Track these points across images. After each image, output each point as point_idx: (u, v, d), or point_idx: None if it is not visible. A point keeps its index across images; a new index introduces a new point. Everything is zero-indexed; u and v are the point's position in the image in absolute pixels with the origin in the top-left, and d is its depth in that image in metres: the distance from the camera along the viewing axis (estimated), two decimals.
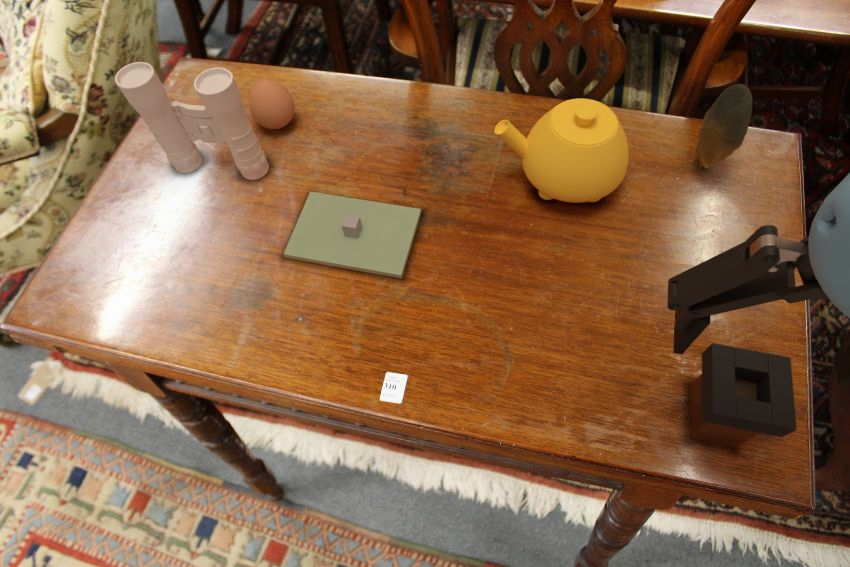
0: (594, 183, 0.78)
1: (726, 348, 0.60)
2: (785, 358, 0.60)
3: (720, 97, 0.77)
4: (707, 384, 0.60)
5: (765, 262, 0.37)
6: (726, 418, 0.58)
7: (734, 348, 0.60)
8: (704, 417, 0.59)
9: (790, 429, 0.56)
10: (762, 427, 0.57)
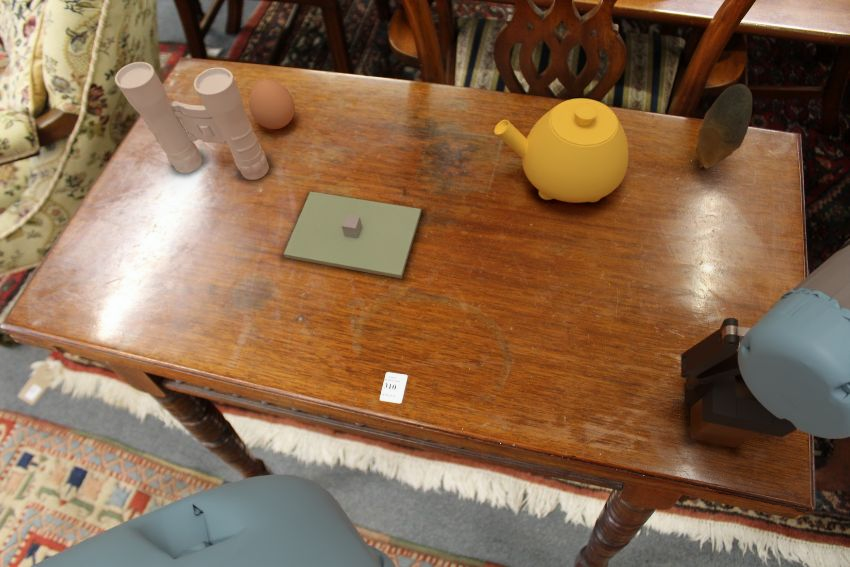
0: (594, 183, 0.78)
1: None
2: None
3: (720, 97, 0.77)
4: None
5: (729, 346, 0.50)
6: (726, 418, 0.58)
7: None
8: (704, 417, 0.59)
9: (790, 429, 0.56)
10: (762, 427, 0.57)
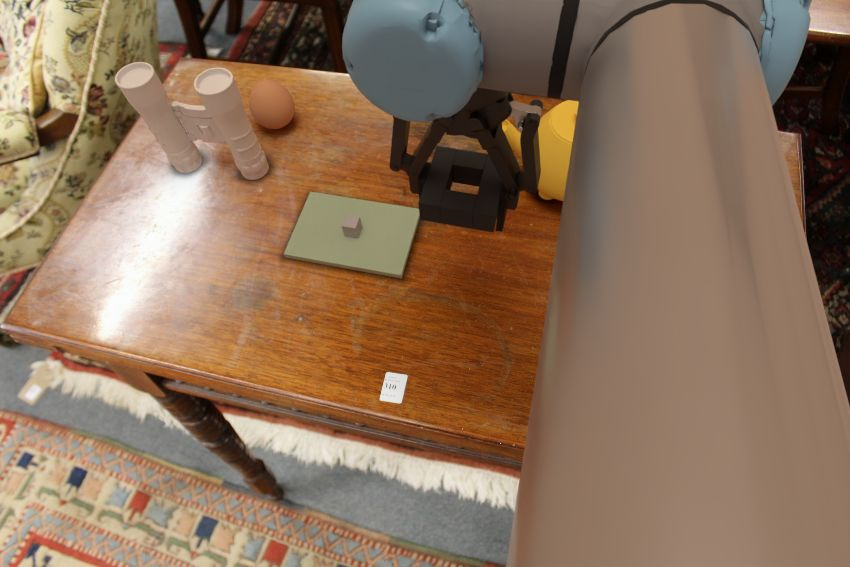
0: None
1: (449, 150, 0.61)
2: None
3: None
4: None
5: None
6: (433, 209, 0.58)
7: (456, 150, 0.60)
8: None
9: (490, 216, 0.56)
10: (467, 217, 0.57)
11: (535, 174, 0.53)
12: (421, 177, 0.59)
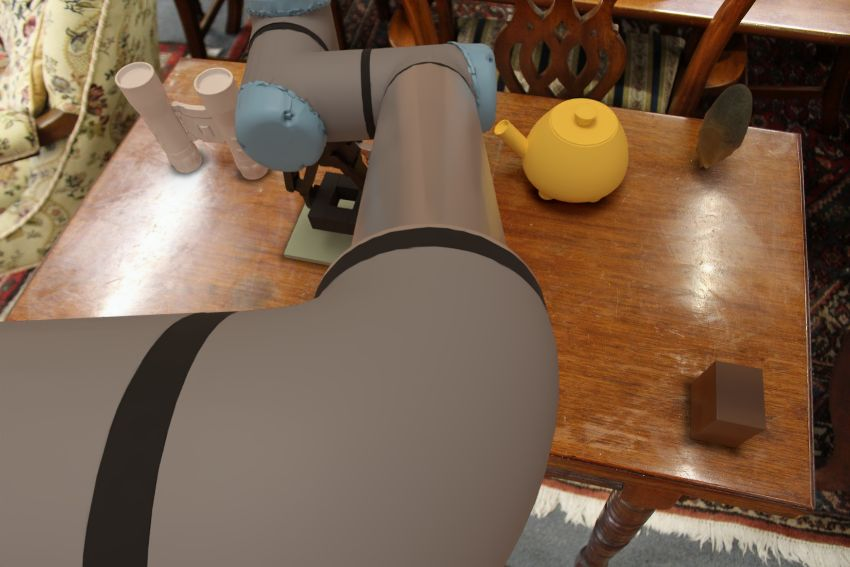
0: (594, 183, 0.78)
1: (334, 174, 0.79)
2: None
3: (720, 97, 0.77)
4: None
5: None
6: (319, 221, 0.76)
7: (340, 174, 0.79)
8: (311, 224, 0.77)
9: None
10: (345, 227, 0.75)
11: None
12: (311, 196, 0.77)
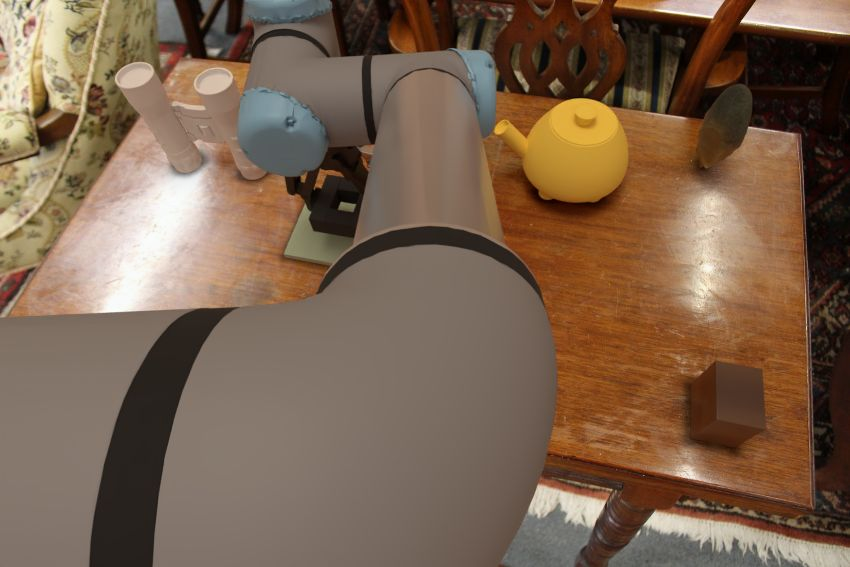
0: (594, 183, 0.78)
1: (335, 177, 0.79)
2: None
3: (720, 97, 0.77)
4: None
5: None
6: (320, 224, 0.76)
7: (341, 177, 0.79)
8: (312, 227, 0.78)
9: None
10: (346, 229, 0.76)
11: None
12: (312, 199, 0.77)
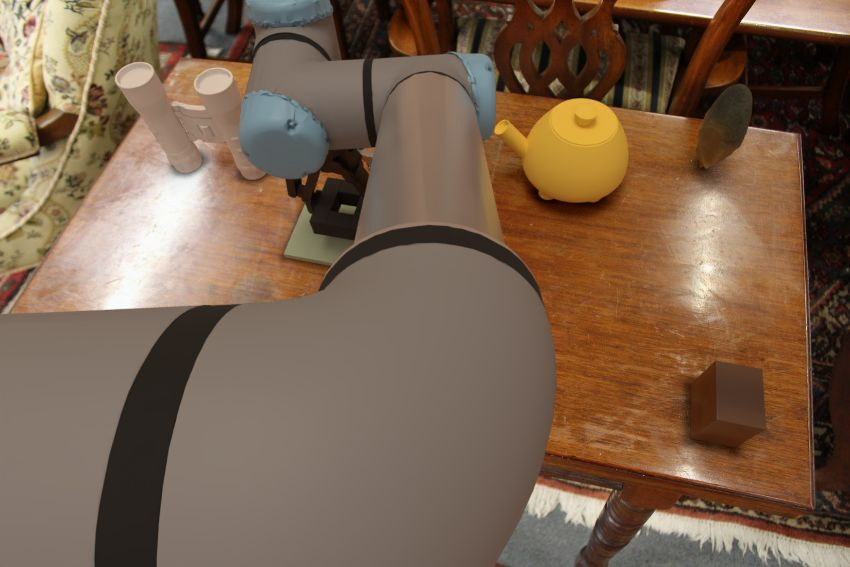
0: (594, 183, 0.78)
1: (336, 180, 0.79)
2: None
3: (720, 97, 0.77)
4: None
5: None
6: (321, 226, 0.77)
7: (342, 180, 0.79)
8: (313, 229, 0.78)
9: None
10: (346, 232, 0.76)
11: None
12: (313, 202, 0.77)
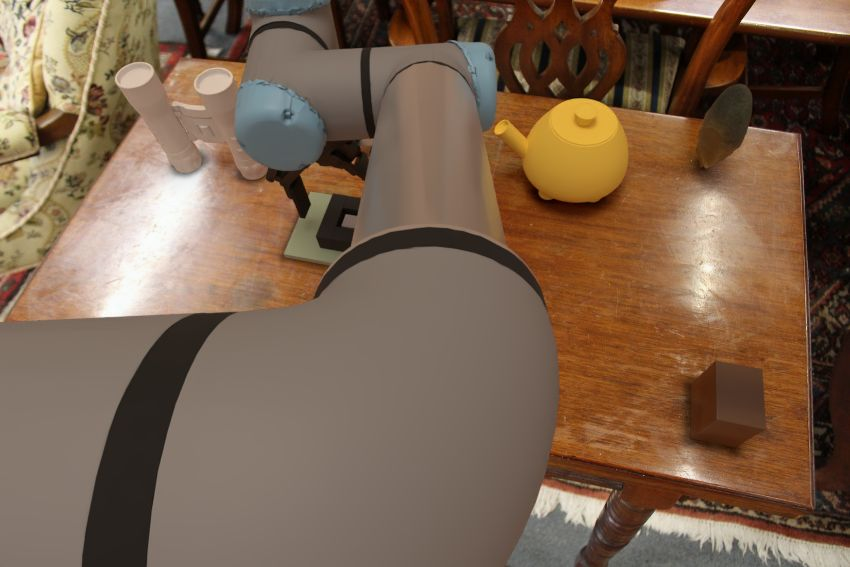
0: (594, 183, 0.78)
1: (341, 196, 0.83)
2: None
3: (720, 97, 0.77)
4: None
5: None
6: (326, 241, 0.80)
7: (347, 196, 0.83)
8: (319, 244, 0.81)
9: None
10: None
11: None
12: (291, 186, 0.76)
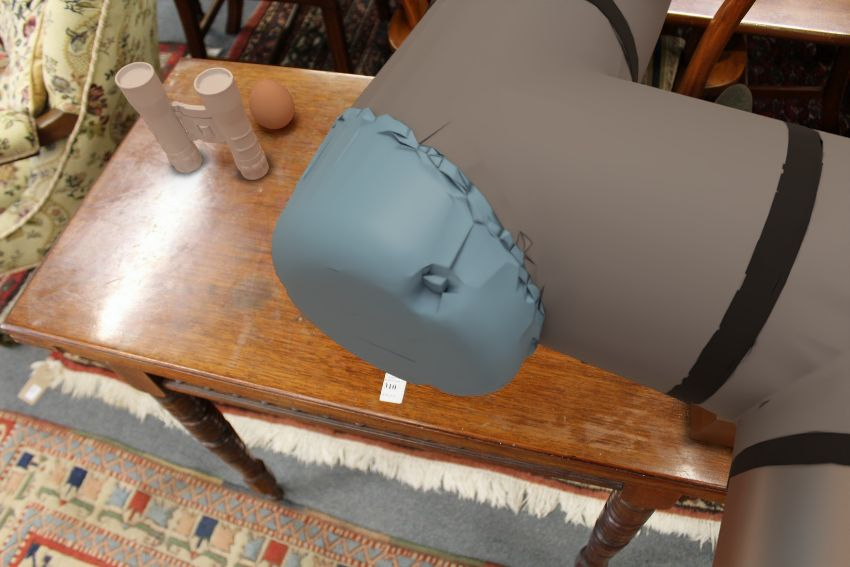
0: None
1: None
2: None
3: (720, 97, 0.77)
4: None
5: None
6: None
7: None
8: None
9: None
10: None
11: None
12: None
